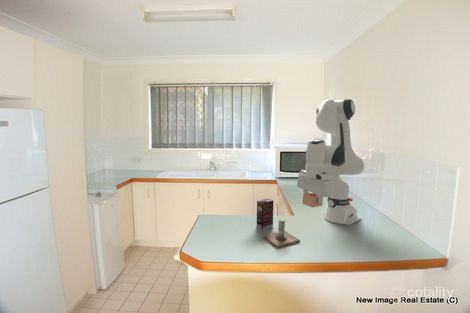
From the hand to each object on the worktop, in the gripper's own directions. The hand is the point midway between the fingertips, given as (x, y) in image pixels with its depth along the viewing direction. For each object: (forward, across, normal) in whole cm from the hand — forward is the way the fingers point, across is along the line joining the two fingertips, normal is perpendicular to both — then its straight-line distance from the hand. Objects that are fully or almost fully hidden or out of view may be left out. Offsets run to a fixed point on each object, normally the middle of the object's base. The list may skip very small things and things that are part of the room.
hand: (312, 200), depth 132 cm
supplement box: (+21, -24, -11) cm, 34 cm away
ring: (+2, 0, 0) cm, 2 cm away
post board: (+21, -8, -12) cm, 26 cm away
